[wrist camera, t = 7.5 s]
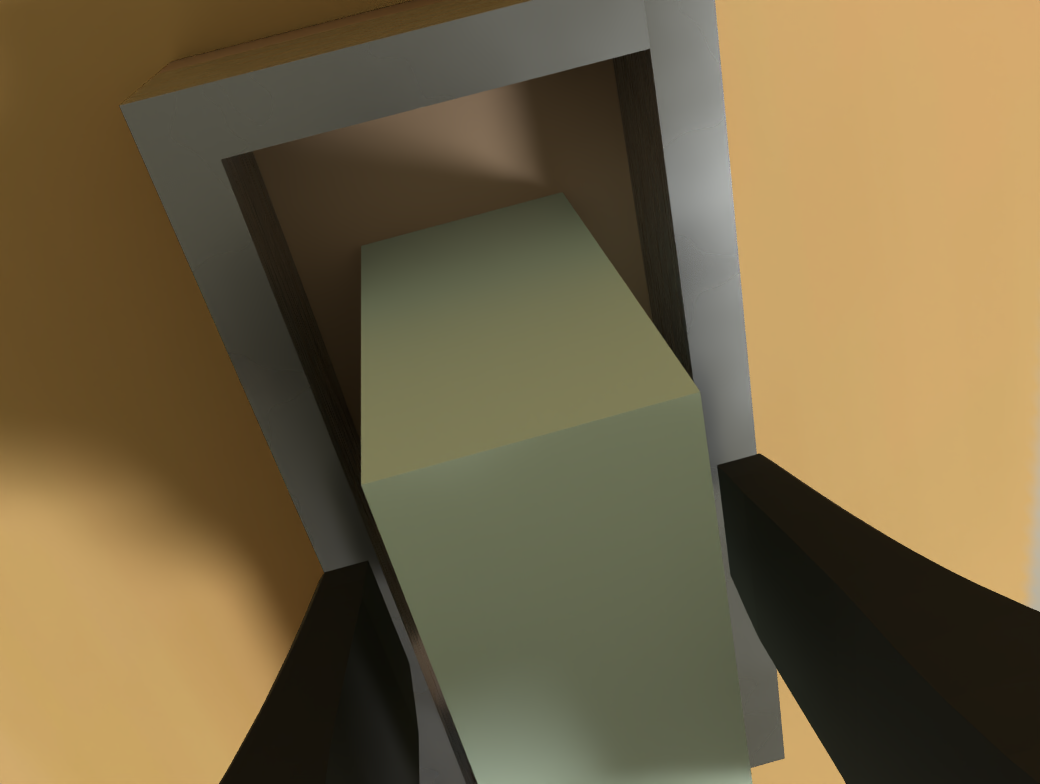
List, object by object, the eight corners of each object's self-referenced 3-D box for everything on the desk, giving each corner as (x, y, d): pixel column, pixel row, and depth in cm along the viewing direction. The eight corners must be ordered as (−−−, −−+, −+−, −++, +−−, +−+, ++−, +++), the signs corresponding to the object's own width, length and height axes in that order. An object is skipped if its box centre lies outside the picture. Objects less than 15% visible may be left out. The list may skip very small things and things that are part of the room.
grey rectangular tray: (727, 643, 19) (784, 758, 17) (435, 724, 19) (447, 854, 16) (636, -57, 12) (710, -45, 10) (171, 61, 12) (119, 106, 9)
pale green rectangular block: (642, 591, 17) (767, 899, 12) (490, 633, 17) (548, 964, 12) (562, 191, 13) (700, 392, 8) (361, 245, 13) (361, 485, 7)
